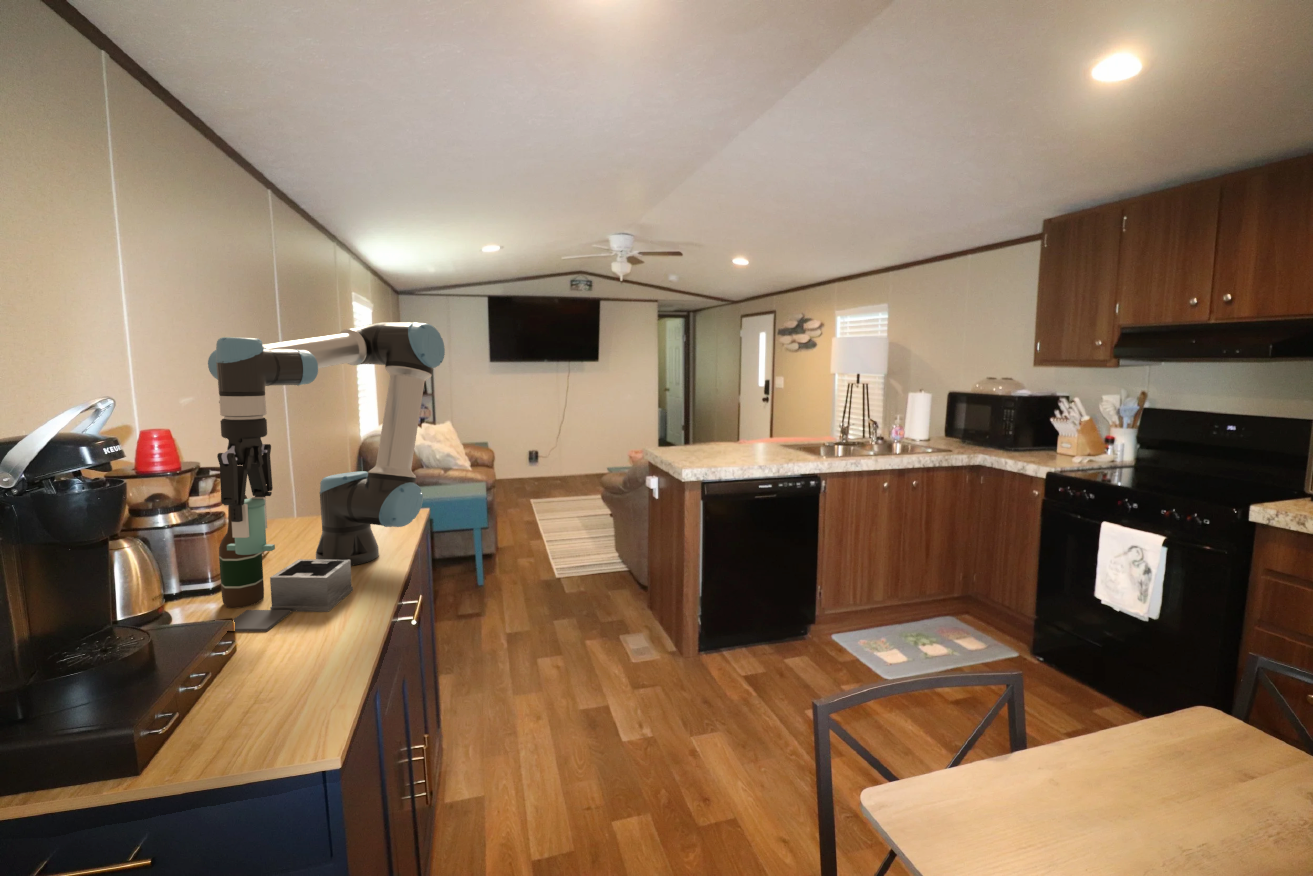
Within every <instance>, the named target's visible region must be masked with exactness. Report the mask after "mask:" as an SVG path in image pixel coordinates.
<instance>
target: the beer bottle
mask: <svg viewBox="0 0 1313 876" xmlns="http://www.w3.org/2000/svg"><path fill="white" fill-rule="evenodd" d="M245 499H248V497H247V495H246V494H245ZM227 506H228V508H227V510H228V511H227V513H228V514H227V516H228V517H227V521H228V522H227V531H226V534H224V536H223V537H222V539H221V541H220V544H219V547H218V559H219V560H218V561H219V562H218V563H219V573H220V574H219V575H220V588H221V589H220V591H221V600H222V604H223V605H224V606H225V607H226V608H228V609H230V608H231V609H232V608H233V609H238V608H239V609H242V608H246V607H249V606H250V607H251V606H254V605H256V604H258V603H259V602H261V601H263V600H264V599H265V587H264V585H265V582H264V568H263V554H262V553H263V552H261V553H257V554H250V555H239V554H236V552H235V550H227V545H229V544H235V538H233V536H232V520H231V508H230V505H227Z"/></svg>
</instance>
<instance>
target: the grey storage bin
mask: <svg viewBox="0 0 1313 876" xmlns="http://www.w3.org/2000/svg"><path fill="white" fill-rule="evenodd" d="M269 582H270V597H271V598H270V599H271V602H270V603H271V606H270V608H269V610H291V613H295V612H297V613H299V612H302V613H303V612H306V613H307V612H308V613H309V612H312V613H313V612H315V613H318V612H321V613H324V612H326V613H327V612H331V610H333V609H334V608H335V607H336V606H337V605H338V604H339V603H340V602H342V600H344V599H345V598H346V597H347V596H348V595H349V594H350V593H352V592H354V587H353V585H352V567H351V560H319V559H316V558H315V559H314V558H313V559H303V558H302V559H301V558H300V559H297V560H296V561H294V562H292V563H290V564H289V565H288V566H286V567H285V568H283V569H280V571H278V572H276V573H275V574H273V575H271V576H270V577H269Z"/></svg>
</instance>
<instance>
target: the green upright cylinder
mask: <svg viewBox="0 0 1313 876" xmlns="http://www.w3.org/2000/svg"><path fill="white" fill-rule="evenodd" d="M244 504H247V505H248V522H249V537H247V538H235V544H229V545H227V550H235V552H236V554H239V555H250V554H257V553H261V552H262V553H263V552H273V551H275V550H276V544H275V543H274V544H272V543H267V534H266V533H267V530H266V529H267V528H265V508H264V505H265V500H264V499H255V498H253V499H250V498H247V499H245V500H244Z"/></svg>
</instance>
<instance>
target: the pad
mask: <svg viewBox="0 0 1313 876" xmlns="http://www.w3.org/2000/svg"><path fill="white" fill-rule="evenodd" d="M291 613H292V612H291V610H270V609H246V610H244V611H242V613H240V614H239V615H237V616H235V617H233V619H234V622H235V632H237V633H239V632H240V633H241V632H248V633H249V632H256V633H257V632H268V631H269V630H271V629H272V628H273V627H275V626H276V625H277V624H279V622H281V621H283V620H284V619H285V618H286V617H287V616H289V615H290V614H291Z"/></svg>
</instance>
